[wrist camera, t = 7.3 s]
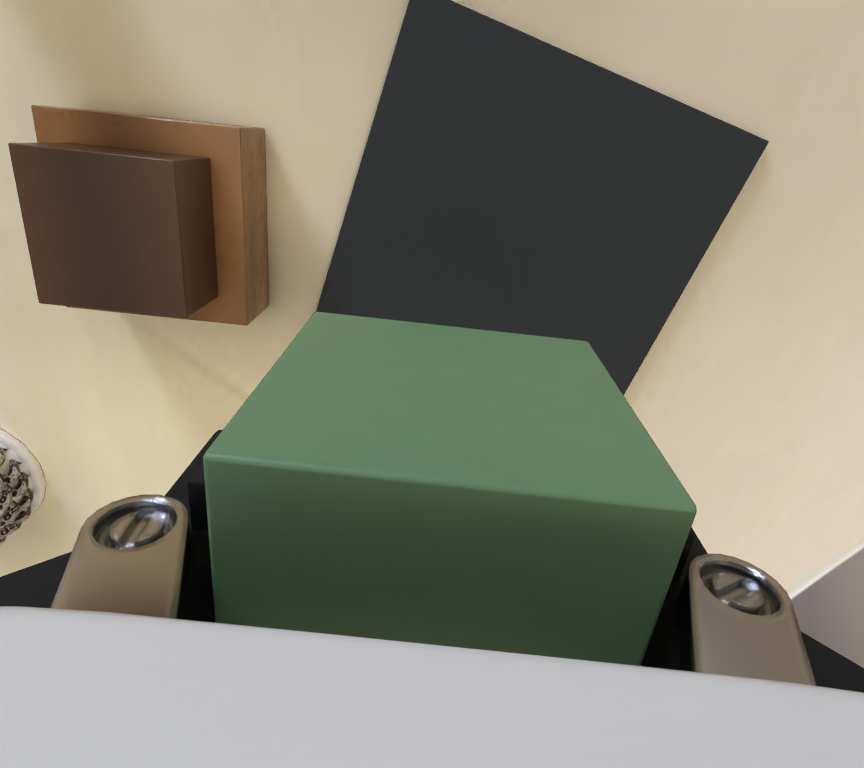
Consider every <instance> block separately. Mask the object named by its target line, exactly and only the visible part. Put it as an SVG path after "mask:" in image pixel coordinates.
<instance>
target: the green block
mask: <svg viewBox="0 0 864 768" xmlns="http://www.w3.org/2000/svg"><path fill="white" fill-rule="evenodd" d="M203 465H204V479H205V492H206V505H207V518H208V532H209V545H210V558H211V571H212V585H213V598H214V611H215V623H224V624H234V625H244V626H255V627H265V628H275V629H286V630H295V631H305V632H315V633H324V634H334V635H344V636H353V637H363V638H373V639H382V640H392V641H402V642H411V643H421V644H431V645H440V646H450V647H460V648H470V649H480V650H489V651H499V652H509V653H519V654H528V655H538V656H548V657H558V658H568V659H577V660H587V661H597V662H607V663H616V664H626V665H635V666H641V663H642V660H643V658H644V655H645V652H646V649H647V647H648V644H649V641H650V638H651V636H652V633H653V630H654V628H655V625H656V622H657V619H658V617H659V614H660V611H661V608H662V606H663V603H664V600H665V597H666V595H667V592H668V589H669V586H670V584H671V581H672V578H673V575H674V573H675V570H676V567H677V564H678V562H679V559H680V556H681V553H682V551H683V548H684V545H685V542H686V540H687V537H688V534H689V532H690V529H691V526H692V523H693V521H694V518H695V515H696V505H695V504H694V502H693V500H692V499H691V497H690V496H689V494H688V493H687V491H686V490H685V488H684V487H683V485H682V484H681V482H680V481H679V479H678V478H677V476H676V475H675V473H674V472H673V470H672V469H671V467H670V466H669V464H668V463H667V461H666V459H665V458H664V456H663V455H662V453H661V452H660V450H659V449H658V447H657V446H656V444H655V443H654V441H653V440H652V438H651V437H650V435H649V434H648V432H647V431H646V429H645V428H644V426H643V425H642V423H641V422H640V420H639V418H638V417H637V415H636V414H635V412H634V411H633V409H632V408H631V406H630V405H629V403H628V402H627V400H626V399H625V397H624V396H623V394H622V393H621V391H620V390H619V388H618V387H617V385H616V384H615V382H614V381H613V379H612V377H611V376H610V374H609V373H608V371H607V370H606V368H605V367H604V365H603V364H602V362H601V361H600V359H599V358H598V356H597V355H596V353H595V352H594V350H593V349H592V347H591V346H590V344H589V343H588V342H587V341H580V340H571V339H562V338H553V337H544V336H534V335H525V334H516V333H507V332H498V331H489V330H480V329H471V328H461V327H452V326H443V325H434V324H425V323H416V322H407V321H398V320H389V319H379V318H370V317H361V316H352V315H343V314H334V313H325V312H315V313H314V314H313V315H312V317H311V318H310V319H309V320H308V322H307V323H306V324H305V326H304V327H303V328H302V329H301V331H300V332H299V333H298V334H297V336H296V337H295V338H294V340H293V341H292V342H291V343H290V345H289V346H288V347H287V349H286V350H285V351H284V352H283V354H282V355H281V356H280V358H279V359H278V360H277V361H276V363H275V364H274V365H273V367H272V368H271V369H270V370H269V372H268V373H267V374H266V376H265V377H264V378H263V379H262V381H261V382H260V383H259V384H258V386H257V387H256V388H255V390H254V391H253V392H252V393H251V395H250V396H249V397H248V399H247V400H246V401H245V402H244V404H243V405H242V406H241V408H240V409H239V410H238V411H237V413H236V414H235V415H234V417H233V418H232V419H231V420H230V422H229V423H228V424H227V426H226V427H225V428H224V429H223V431H222V432H221V433H220V434H219V436H218V437H217V438H216V440H215V441H214V442H213V443H212V445H211V446H210V447H209V449H208V450H207V451H206V452H205V454H204V456H203Z"/></svg>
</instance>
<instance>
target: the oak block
mask: <svg viewBox="0 0 864 768" xmlns="http://www.w3.org/2000/svg"><path fill="white" fill-rule="evenodd" d="M31 108H32V113H33V119H34V125H35V131H36V136H37V142H38V143H63V142H68V143H77V144H87V145H96V146H106V147H115V148H125V149H134V150H144V151H153V152H162V153H172V154H181V155H191V156H200V157H209V158H210V165H211V181H212V198H213V215H214V232H215V249H216V265H217V282H218V297H217V298H215V299H214V300H212V301H211V302H209V303H208V304H207V305H205V306H204V307H202V308H201V309H199V310H198V311H196V312H195V313H193V314H192V315H190V316H189V317H188V318H179V317H170V316H160V315H150V314H140V313H131V314H140V315H150V316H160V317H170V318H179V319H189V320H199V321H209V322H219V323H228V324H238V325H248V324H249V323H250V322H251V321H252V320H254V319H255V318H256V317H257V316H258V315H259V314H260V313H261V312H262V311H263V310H264V309H265V308H267V307H268V305H269V299H268V253H267V208H266V163H265V129H264V128H256V127H246V126H237V125H227V124H218V123H209V122H199V121H190V120H181V119H171V118H162V117H152V116H143V115H134V114H124V113H115V112H106V111H96V110H87V109H76V108H63V107H51V106H38V105H32V106H31ZM66 307H72V306H66ZM72 308H82V307H72ZM82 309H91V308H82ZM91 310H101V309H91ZM101 311H111V310H101ZM111 312H121V311H111ZM121 313H130V312H121Z"/></svg>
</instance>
